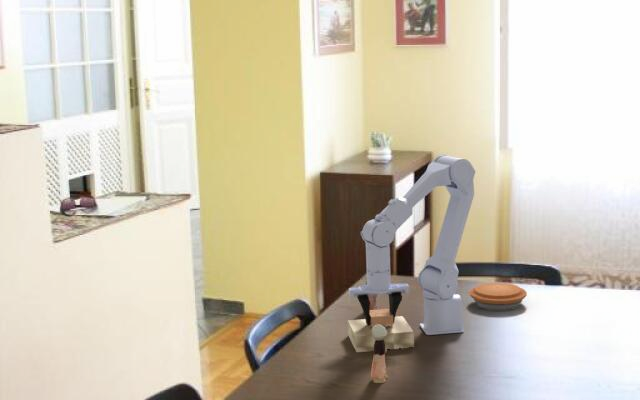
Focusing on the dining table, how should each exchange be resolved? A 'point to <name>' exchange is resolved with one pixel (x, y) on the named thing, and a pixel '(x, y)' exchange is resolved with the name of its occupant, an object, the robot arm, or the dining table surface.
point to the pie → (498, 296)
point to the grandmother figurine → (379, 354)
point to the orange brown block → (381, 317)
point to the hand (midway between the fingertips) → (379, 323)
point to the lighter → (372, 300)
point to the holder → (395, 338)
